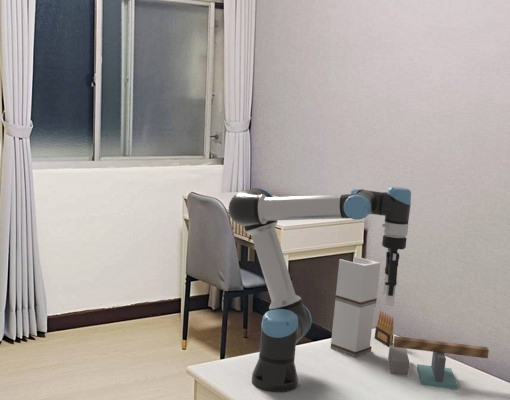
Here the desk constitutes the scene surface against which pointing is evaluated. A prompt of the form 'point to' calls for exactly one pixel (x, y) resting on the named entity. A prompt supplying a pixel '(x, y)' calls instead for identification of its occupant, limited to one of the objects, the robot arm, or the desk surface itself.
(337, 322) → the tall open-top box
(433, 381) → the stand
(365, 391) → the desk surface
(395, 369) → the riser block
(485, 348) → the walnut rod
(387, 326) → the ammunition clip
